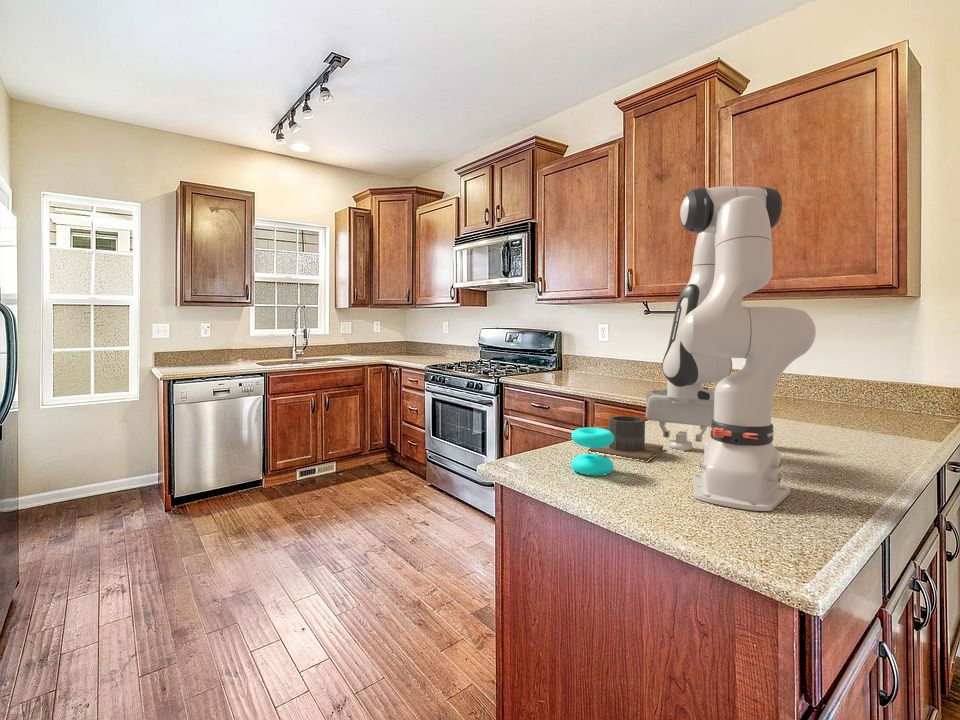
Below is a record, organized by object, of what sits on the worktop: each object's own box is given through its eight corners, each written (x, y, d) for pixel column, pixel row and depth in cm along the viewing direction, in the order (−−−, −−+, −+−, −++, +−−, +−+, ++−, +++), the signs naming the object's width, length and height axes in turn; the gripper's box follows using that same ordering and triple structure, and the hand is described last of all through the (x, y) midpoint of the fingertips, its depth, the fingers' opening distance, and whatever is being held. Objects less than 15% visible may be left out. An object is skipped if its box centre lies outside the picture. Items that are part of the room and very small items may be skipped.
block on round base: (689, 452, 138) (690, 436, 137) (668, 449, 141) (668, 433, 141) (693, 448, 142) (694, 432, 142) (672, 445, 146) (673, 430, 145)
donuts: (567, 426, 124) (606, 426, 124) (566, 465, 125) (606, 465, 125) (577, 435, 114) (619, 434, 115) (576, 478, 115) (619, 477, 115)
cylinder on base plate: (647, 462, 127) (648, 427, 127) (588, 453, 136) (588, 420, 136) (663, 449, 141) (663, 417, 140) (608, 442, 150) (608, 411, 149)
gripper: (643, 389, 144) (642, 436, 145) (720, 395, 132) (719, 446, 133) (649, 387, 149) (648, 432, 150) (724, 392, 137) (722, 441, 139)
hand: (682, 439), depth 142 cm, fingers open, 7 cm apart
